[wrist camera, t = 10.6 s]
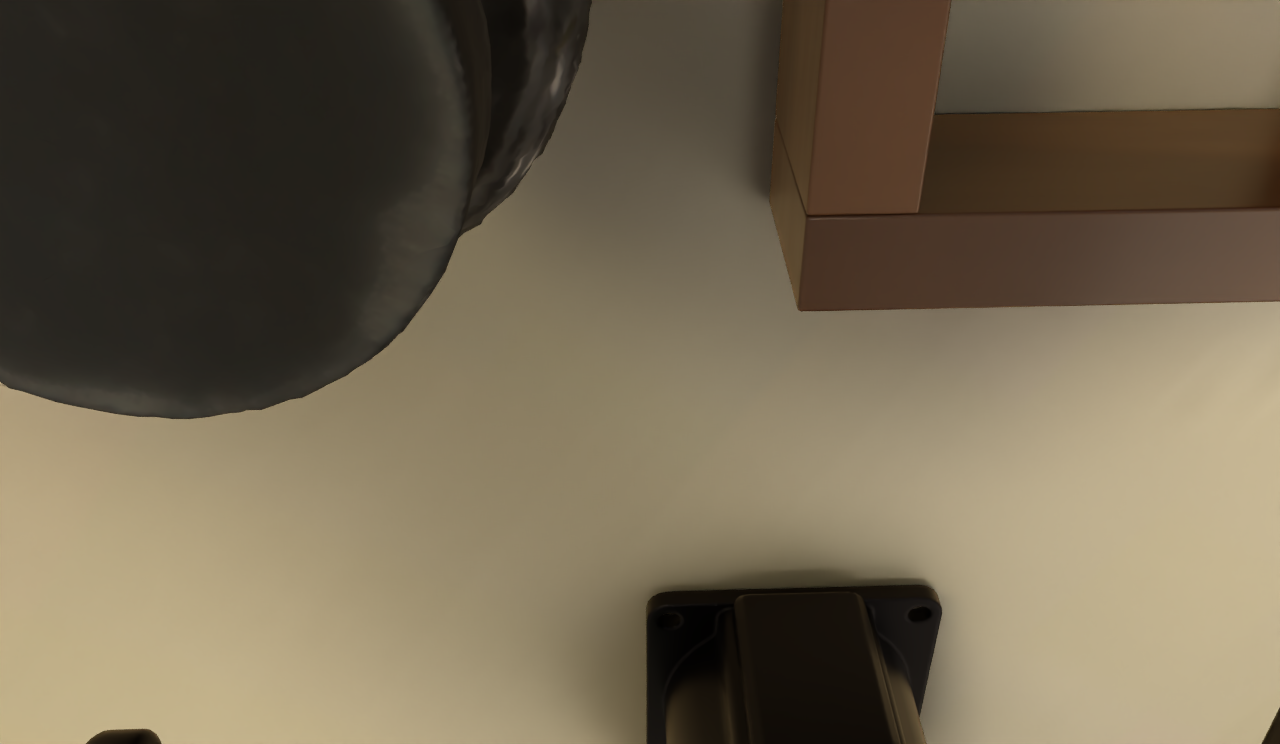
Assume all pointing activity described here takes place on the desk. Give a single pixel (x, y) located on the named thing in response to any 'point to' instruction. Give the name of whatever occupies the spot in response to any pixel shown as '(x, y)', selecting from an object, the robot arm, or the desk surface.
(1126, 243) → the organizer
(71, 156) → the pill bottle
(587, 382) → the desk surface
